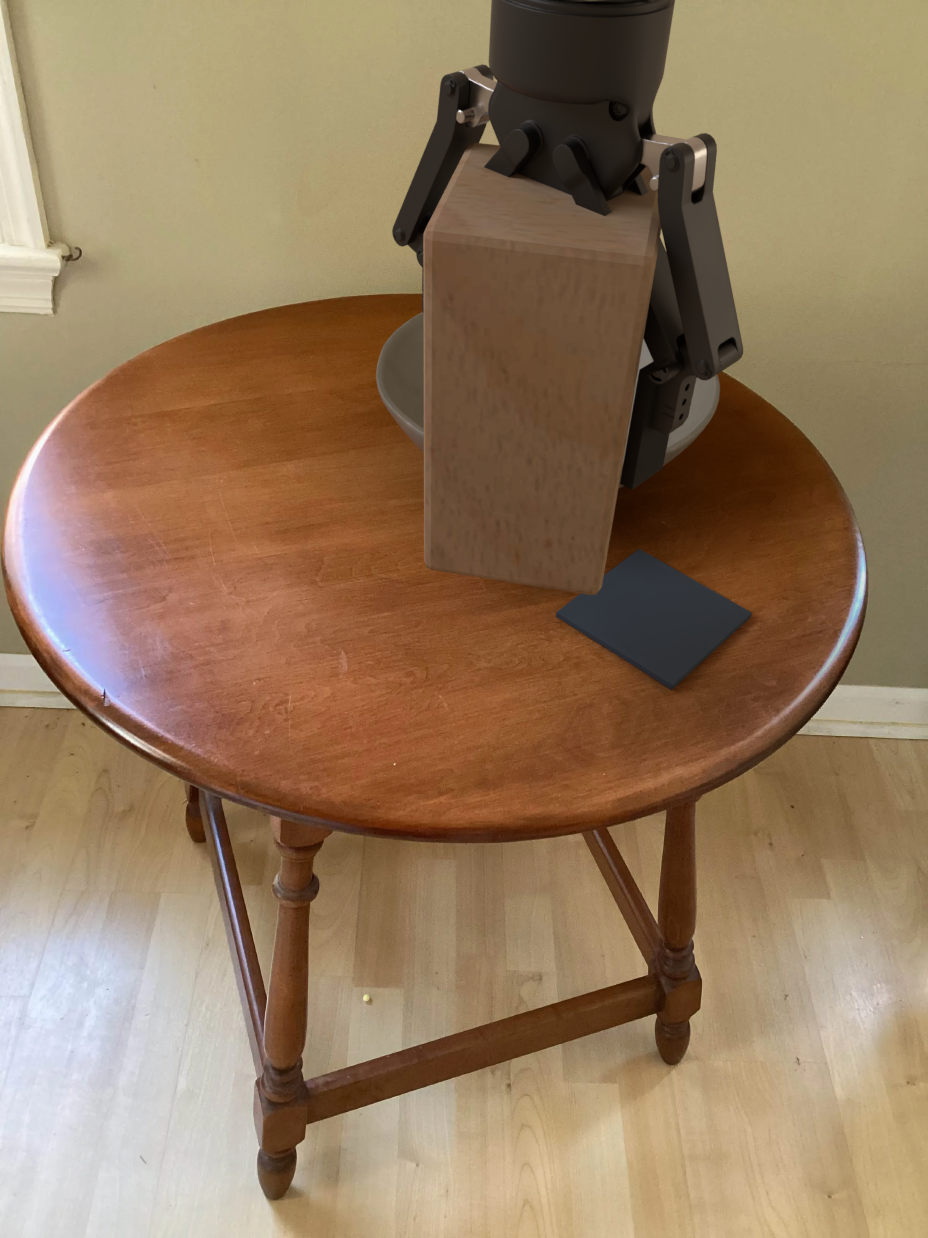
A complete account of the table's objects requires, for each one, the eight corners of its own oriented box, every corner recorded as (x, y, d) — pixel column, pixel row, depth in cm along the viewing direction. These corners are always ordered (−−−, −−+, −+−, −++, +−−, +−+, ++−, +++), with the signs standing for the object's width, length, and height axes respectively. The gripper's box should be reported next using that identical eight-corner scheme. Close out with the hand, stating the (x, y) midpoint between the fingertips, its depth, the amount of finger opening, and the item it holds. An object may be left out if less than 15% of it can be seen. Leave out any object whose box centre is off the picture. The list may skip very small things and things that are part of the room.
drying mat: (750, 617, 75) (752, 612, 75) (671, 690, 70) (673, 685, 69) (638, 553, 80) (639, 548, 79) (555, 616, 74) (556, 611, 74)
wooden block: (599, 600, 57) (657, 255, 43) (422, 572, 59) (420, 227, 44) (617, 488, 64) (672, 159, 50) (458, 465, 65) (467, 137, 51)
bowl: (729, 406, 95) (749, 324, 90) (656, 595, 76) (676, 505, 71) (451, 342, 102) (454, 261, 96) (320, 501, 83) (314, 411, 77)
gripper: (913, 25, 39) (775, 492, 53) (429, -85, 50) (424, 321, 65) (813, 64, 34) (693, 559, 49) (311, -66, 46) (334, 363, 61)
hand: (539, 424), depth 57 cm, fingers closed on wooden block, 13 cm apart
